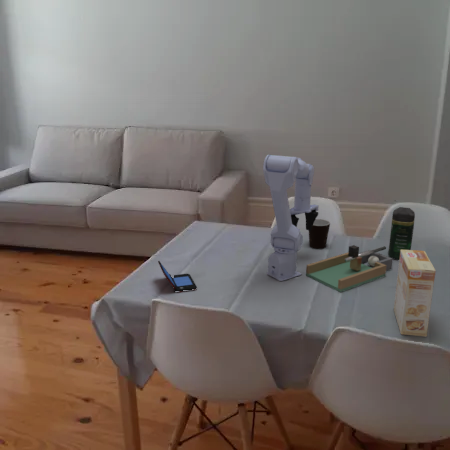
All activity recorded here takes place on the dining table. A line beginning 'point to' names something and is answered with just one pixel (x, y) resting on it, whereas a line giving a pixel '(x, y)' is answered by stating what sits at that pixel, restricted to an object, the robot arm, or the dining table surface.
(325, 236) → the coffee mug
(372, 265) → the ball
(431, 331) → the dining table surface
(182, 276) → the handheld game console
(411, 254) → the coffeecake box
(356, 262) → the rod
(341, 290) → the pitch
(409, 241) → the coffee jar
